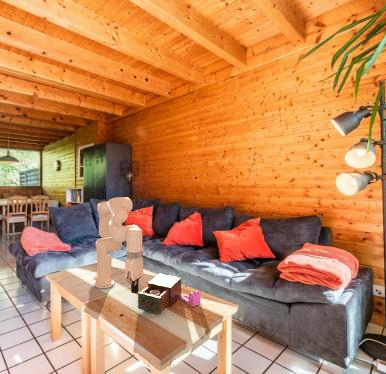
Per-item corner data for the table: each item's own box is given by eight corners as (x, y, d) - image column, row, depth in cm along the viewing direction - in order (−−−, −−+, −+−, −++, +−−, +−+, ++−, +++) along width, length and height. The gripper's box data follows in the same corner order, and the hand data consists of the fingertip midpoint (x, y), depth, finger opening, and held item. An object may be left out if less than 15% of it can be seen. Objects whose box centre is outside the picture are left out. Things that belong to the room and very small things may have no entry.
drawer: (156, 318, 128) (156, 301, 128) (133, 312, 134) (133, 295, 134) (171, 302, 145) (171, 287, 144) (150, 297, 151) (150, 282, 151)
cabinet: (170, 306, 142) (170, 287, 142) (147, 300, 149) (147, 282, 149) (181, 295, 156) (181, 278, 156) (159, 290, 163) (159, 273, 163)
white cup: (148, 304, 140) (148, 293, 140) (152, 300, 145) (152, 289, 145) (157, 307, 137) (157, 295, 137) (161, 302, 142) (161, 291, 142)
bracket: (200, 303, 145) (200, 291, 145) (193, 306, 142) (193, 294, 142) (185, 295, 156) (185, 284, 156) (178, 297, 153) (178, 286, 152)
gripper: (136, 249, 130) (136, 285, 130) (118, 257, 116) (119, 297, 117) (149, 251, 126) (149, 288, 127) (132, 259, 113) (133, 300, 113)
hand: (134, 292), depth 122 cm, fingers closed
